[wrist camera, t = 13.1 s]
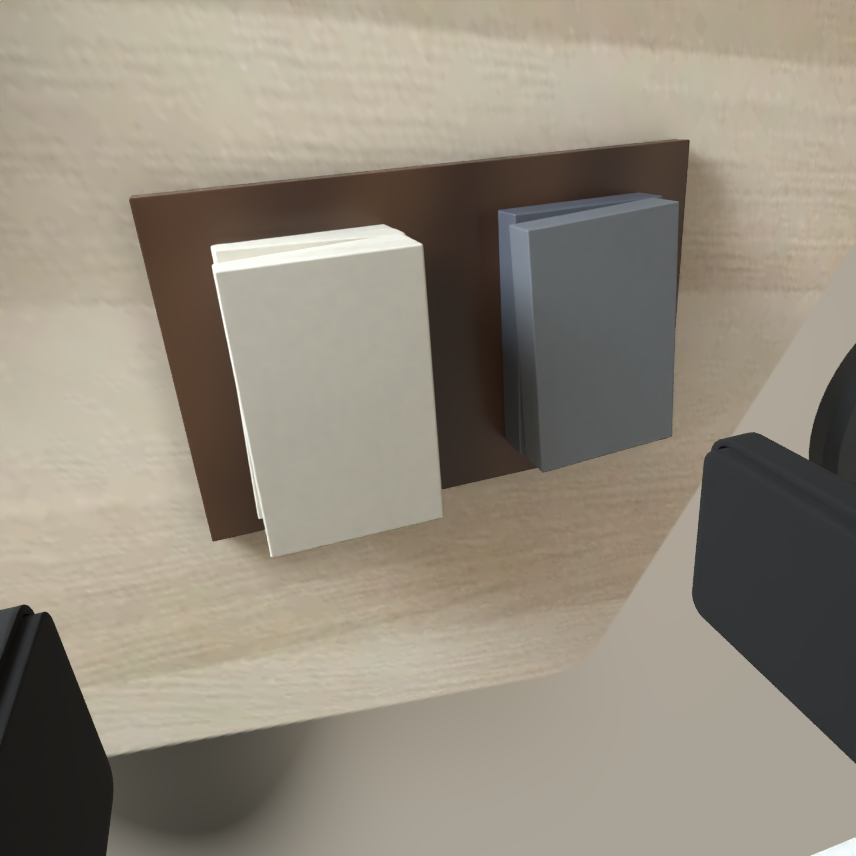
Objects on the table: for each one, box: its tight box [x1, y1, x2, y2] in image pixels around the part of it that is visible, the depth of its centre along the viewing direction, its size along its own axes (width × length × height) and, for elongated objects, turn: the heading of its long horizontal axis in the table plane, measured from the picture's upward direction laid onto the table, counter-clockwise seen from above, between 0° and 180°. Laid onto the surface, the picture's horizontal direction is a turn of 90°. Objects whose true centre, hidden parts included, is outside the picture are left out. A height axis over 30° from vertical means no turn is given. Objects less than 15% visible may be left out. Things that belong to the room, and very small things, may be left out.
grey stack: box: [498, 192, 679, 472], centre depth 31 cm, size 7×11×4 cm, turn 5°
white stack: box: [211, 224, 409, 519], centre depth 28 cm, size 8×11×4 cm, turn 5°
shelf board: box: [129, 139, 690, 541], centre depth 32 cm, size 24×15×1 cm, turn 95°
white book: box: [212, 238, 444, 558], centre depth 26 cm, size 7×11×1 cm, turn 5°
